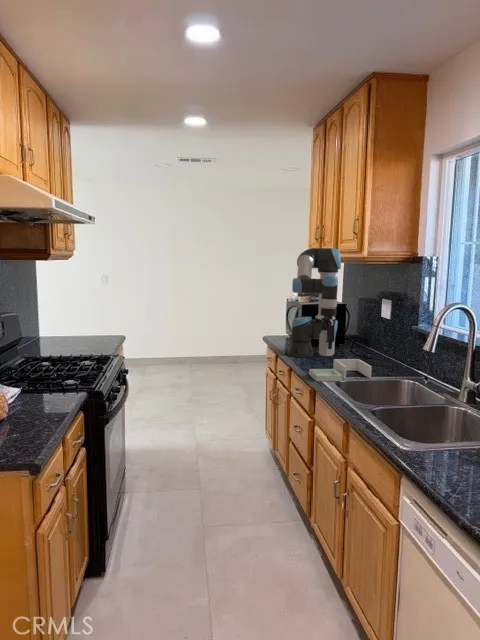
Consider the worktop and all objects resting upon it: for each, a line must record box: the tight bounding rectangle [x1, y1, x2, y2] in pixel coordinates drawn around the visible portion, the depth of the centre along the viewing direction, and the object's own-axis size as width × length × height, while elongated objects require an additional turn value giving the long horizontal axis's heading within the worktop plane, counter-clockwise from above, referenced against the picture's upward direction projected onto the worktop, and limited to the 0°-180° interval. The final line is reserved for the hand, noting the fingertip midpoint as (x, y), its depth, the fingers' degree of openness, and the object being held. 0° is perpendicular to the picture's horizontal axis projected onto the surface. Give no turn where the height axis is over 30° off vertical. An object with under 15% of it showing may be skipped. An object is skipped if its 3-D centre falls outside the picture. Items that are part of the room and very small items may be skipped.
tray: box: [308, 368, 343, 382], centre depth 236 cm, size 13×13×3 cm
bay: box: [332, 358, 373, 379], centre depth 244 cm, size 17×14×6 cm
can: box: [318, 330, 336, 357], centre depth 233 cm, size 8×8×12 cm
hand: (326, 353), depth 234 cm, fingers closed on can, 7 cm apart
